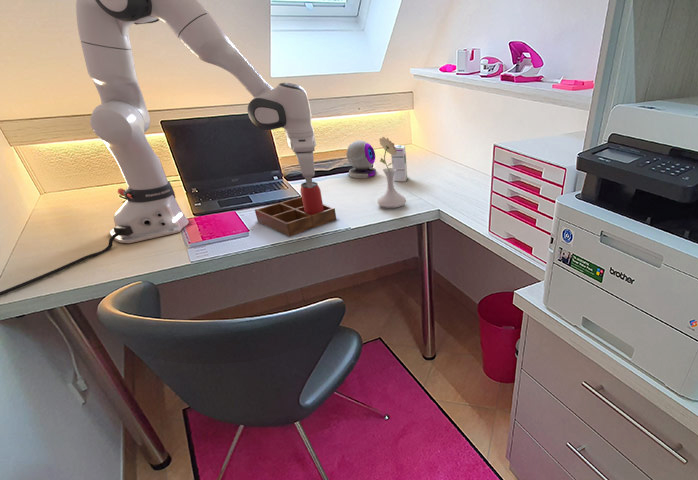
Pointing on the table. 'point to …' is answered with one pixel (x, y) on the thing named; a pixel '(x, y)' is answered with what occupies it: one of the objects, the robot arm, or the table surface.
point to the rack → (293, 217)
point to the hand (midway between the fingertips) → (308, 183)
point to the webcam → (361, 159)
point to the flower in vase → (390, 180)
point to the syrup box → (399, 164)
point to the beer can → (311, 198)
